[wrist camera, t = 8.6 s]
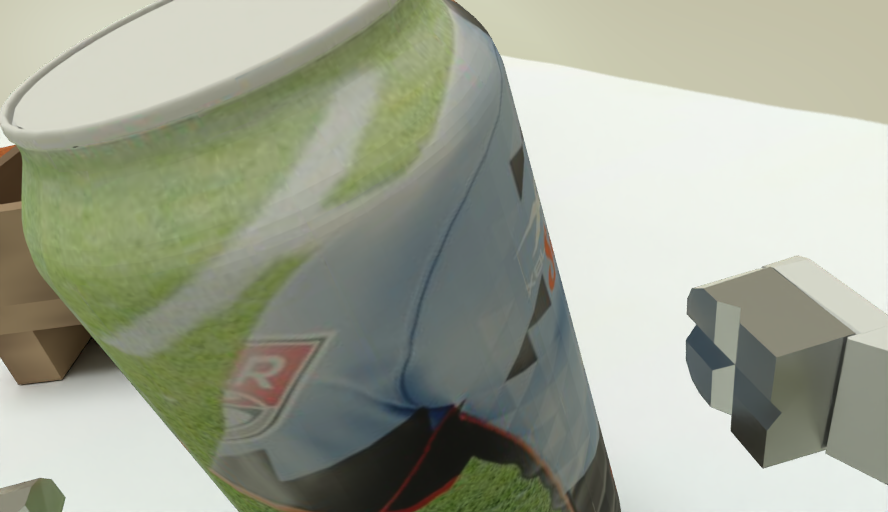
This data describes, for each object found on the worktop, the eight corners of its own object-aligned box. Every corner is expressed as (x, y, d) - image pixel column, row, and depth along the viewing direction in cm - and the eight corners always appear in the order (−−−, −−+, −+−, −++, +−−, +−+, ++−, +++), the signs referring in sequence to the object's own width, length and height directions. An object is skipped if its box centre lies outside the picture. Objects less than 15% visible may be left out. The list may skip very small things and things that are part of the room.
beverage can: (688, 559, 14) (713, -115, 7) (393, 883, 10) (-21, 138, 4) (477, 407, 18) (381, -98, 12) (221, 599, 15) (-106, 30, 8)
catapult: (18, 384, 22) (-88, 224, 19) (194, 152, 38) (151, 41, 34) (384, 340, 21) (336, 162, 18) (413, 119, 36) (390, 1, 33)
